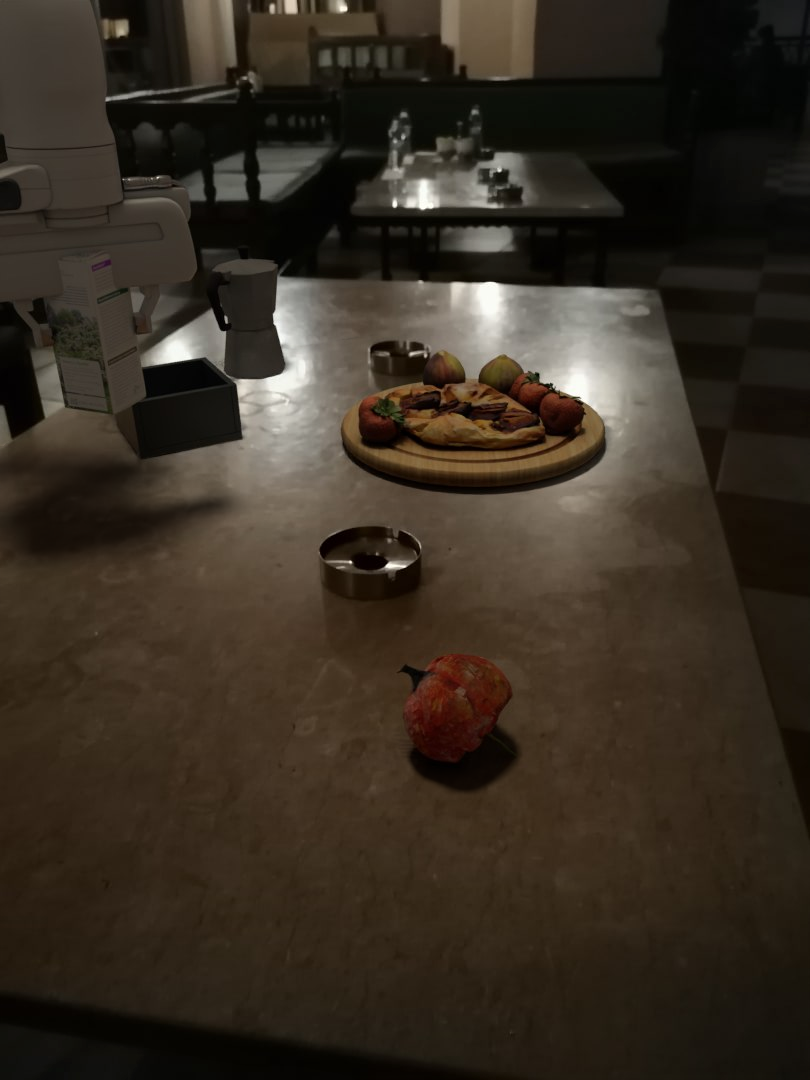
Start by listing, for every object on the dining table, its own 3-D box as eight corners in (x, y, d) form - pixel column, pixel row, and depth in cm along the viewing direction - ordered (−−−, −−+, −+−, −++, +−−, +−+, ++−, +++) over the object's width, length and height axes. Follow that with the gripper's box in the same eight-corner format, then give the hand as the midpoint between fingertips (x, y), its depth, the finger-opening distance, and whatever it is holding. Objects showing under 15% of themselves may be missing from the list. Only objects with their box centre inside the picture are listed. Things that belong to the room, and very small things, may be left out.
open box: (140, 459, 107) (131, 403, 103) (117, 425, 117) (107, 372, 113) (242, 438, 112) (236, 384, 109) (211, 407, 122) (205, 356, 118)
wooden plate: (369, 509, 95) (366, 435, 91) (323, 405, 122) (319, 345, 118) (651, 475, 101) (660, 404, 97) (547, 383, 128) (550, 325, 124)
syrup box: (148, 396, 89) (127, 244, 82) (113, 417, 84) (86, 257, 77) (99, 390, 91) (74, 240, 84) (61, 410, 86) (31, 252, 79)
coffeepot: (254, 353, 143) (243, 234, 134) (305, 361, 139) (297, 239, 130) (192, 383, 131) (175, 254, 122) (246, 392, 127) (233, 260, 118)
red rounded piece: (505, 739, 66) (403, 649, 66) (567, 699, 61) (457, 601, 61) (465, 815, 61) (354, 718, 61) (529, 778, 56) (408, 671, 56)
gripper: (177, 169, 84) (194, 317, 91) (-64, 184, 76) (-26, 345, 83) (196, 177, 79) (213, 332, 86) (-58, 194, 71) (-18, 364, 78)
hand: (94, 339), depth 84 cm, fingers closed on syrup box, 7 cm apart
